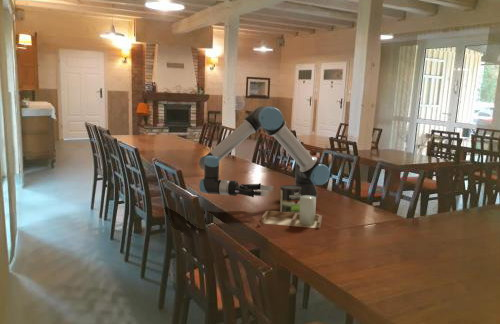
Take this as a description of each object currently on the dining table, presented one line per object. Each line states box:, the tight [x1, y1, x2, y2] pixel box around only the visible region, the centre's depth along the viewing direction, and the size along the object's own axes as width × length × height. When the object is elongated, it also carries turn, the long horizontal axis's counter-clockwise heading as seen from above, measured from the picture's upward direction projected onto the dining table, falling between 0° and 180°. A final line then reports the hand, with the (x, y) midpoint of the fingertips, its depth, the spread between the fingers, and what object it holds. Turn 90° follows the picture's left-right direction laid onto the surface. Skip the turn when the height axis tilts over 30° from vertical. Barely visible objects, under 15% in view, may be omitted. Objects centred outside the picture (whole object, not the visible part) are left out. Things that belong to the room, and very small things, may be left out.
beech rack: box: [260, 210, 323, 229], centre depth 180 cm, size 26×13×4 cm, turn 76°
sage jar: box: [299, 195, 317, 226], centre depth 177 cm, size 7×7×12 cm
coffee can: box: [279, 184, 302, 213], centre depth 195 cm, size 10×10×14 cm
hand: (270, 191), depth 196 cm, fingers open, 13 cm apart
